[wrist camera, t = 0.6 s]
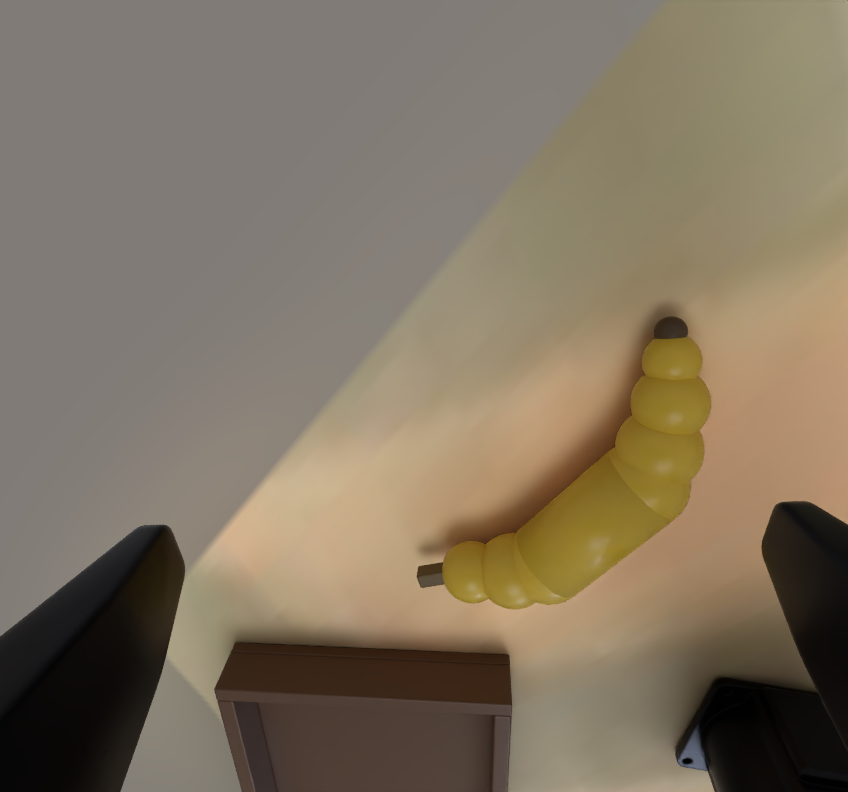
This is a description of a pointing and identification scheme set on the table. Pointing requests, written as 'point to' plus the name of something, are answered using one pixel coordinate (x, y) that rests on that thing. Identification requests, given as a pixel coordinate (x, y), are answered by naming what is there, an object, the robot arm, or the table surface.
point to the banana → (599, 494)
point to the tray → (366, 719)
